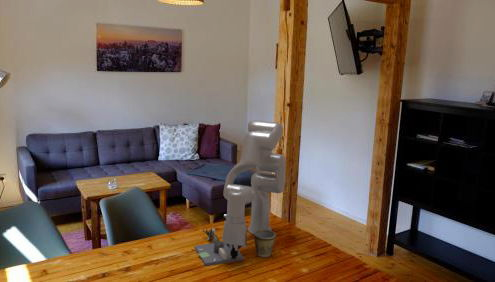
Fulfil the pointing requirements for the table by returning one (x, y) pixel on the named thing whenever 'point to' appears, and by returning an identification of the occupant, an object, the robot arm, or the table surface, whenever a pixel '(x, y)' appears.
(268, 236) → the ceramic cup
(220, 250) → the peg
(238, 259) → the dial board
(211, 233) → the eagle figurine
